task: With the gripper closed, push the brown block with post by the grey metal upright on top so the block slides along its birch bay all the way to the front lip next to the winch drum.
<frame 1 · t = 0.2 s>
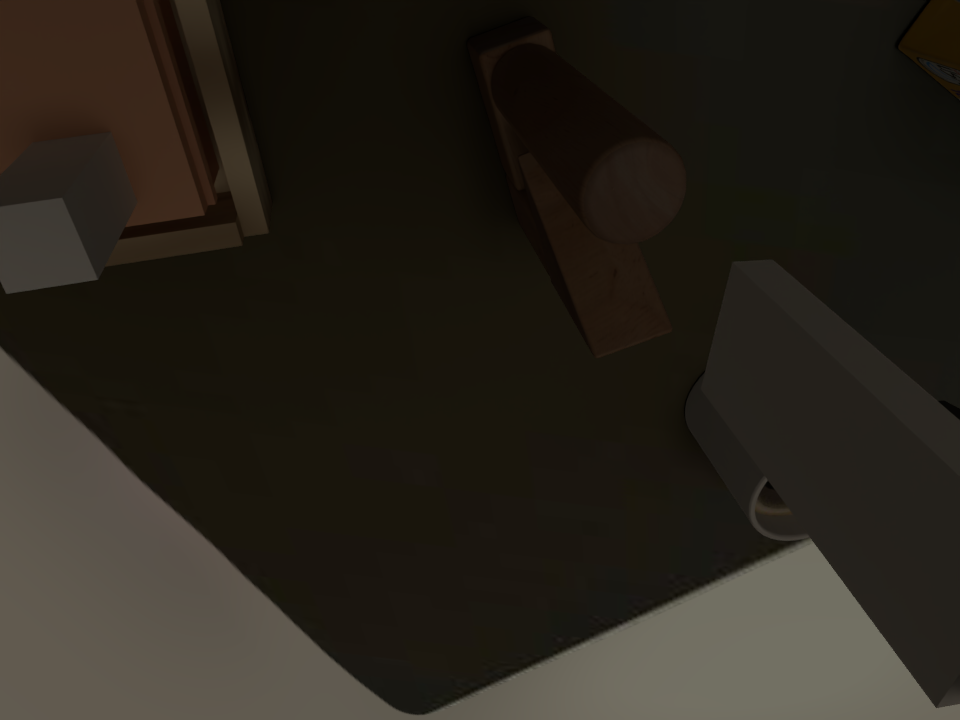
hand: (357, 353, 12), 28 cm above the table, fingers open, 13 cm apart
brown block with post: (63, 128, 28), point 7 cm above the table, slide at 0.0 cm
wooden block: (524, 126, 39), on the table
mug: (733, 406, 54), on the table
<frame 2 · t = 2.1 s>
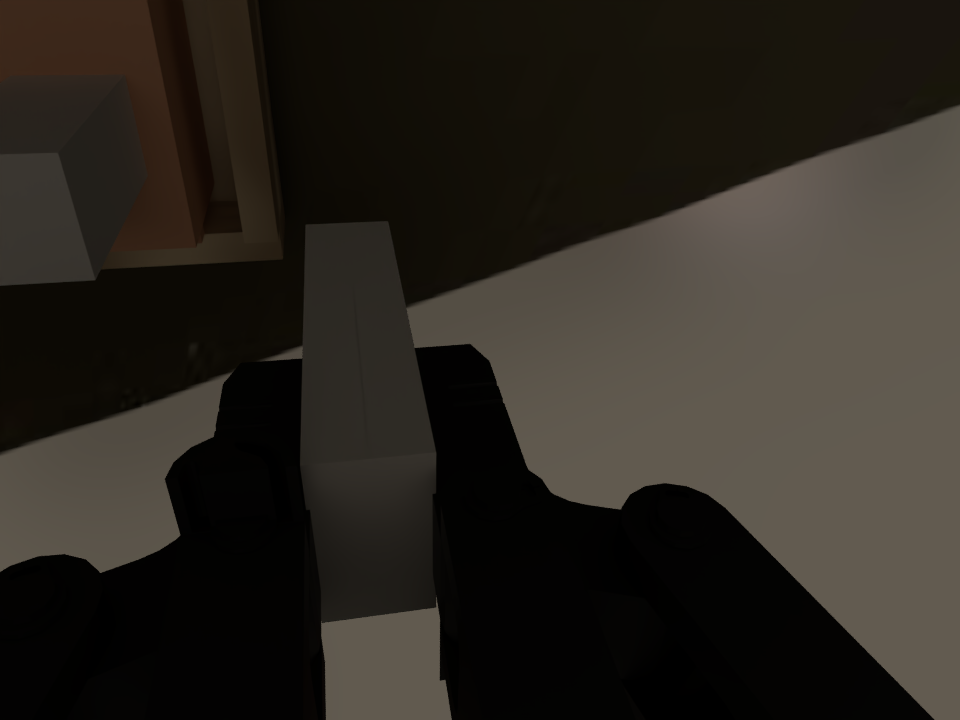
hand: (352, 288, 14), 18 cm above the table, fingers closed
brown block with post: (2, 134, 21), point 7 cm above the table, slide at 0.0 cm
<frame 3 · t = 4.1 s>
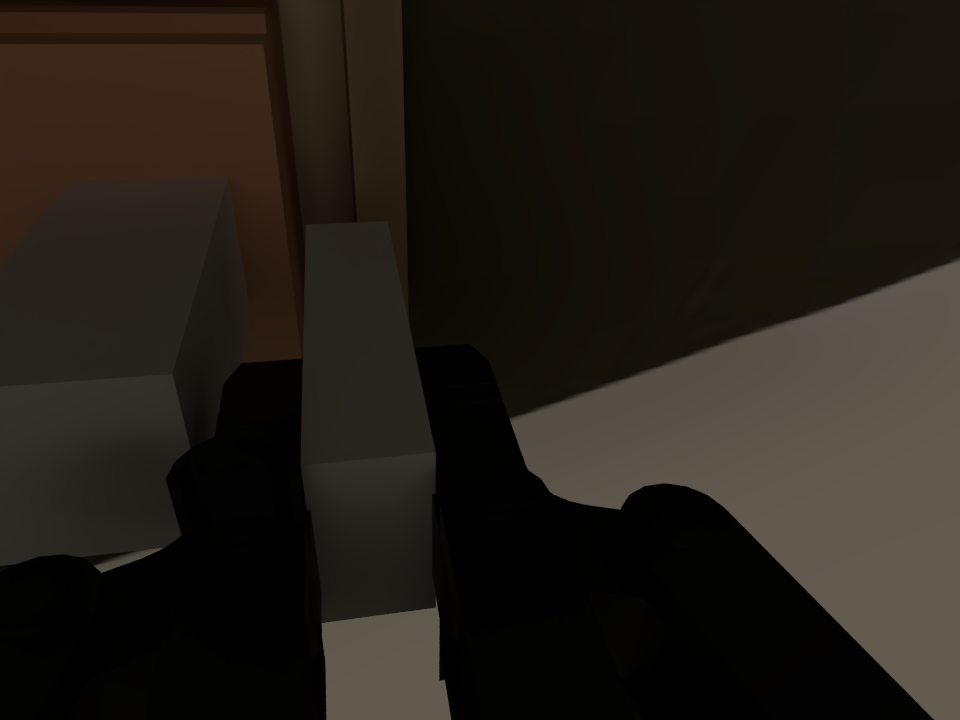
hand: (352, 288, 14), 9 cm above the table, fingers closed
brown block with post: (54, 264, 14), point 7 cm above the table, slide at 0.3 cm, touching gripper
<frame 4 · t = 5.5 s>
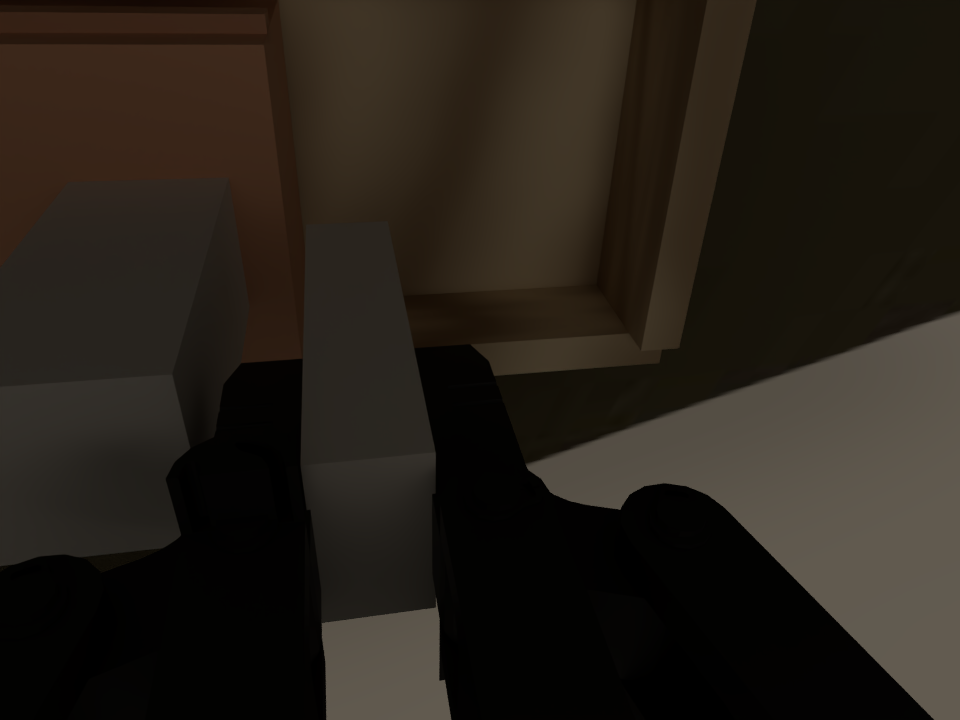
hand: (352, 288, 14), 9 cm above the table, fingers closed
brown block with post: (55, 264, 14), point 7 cm above the table, slide at 8.3 cm, touching gripper
bay: (180, 146, 21), on the table
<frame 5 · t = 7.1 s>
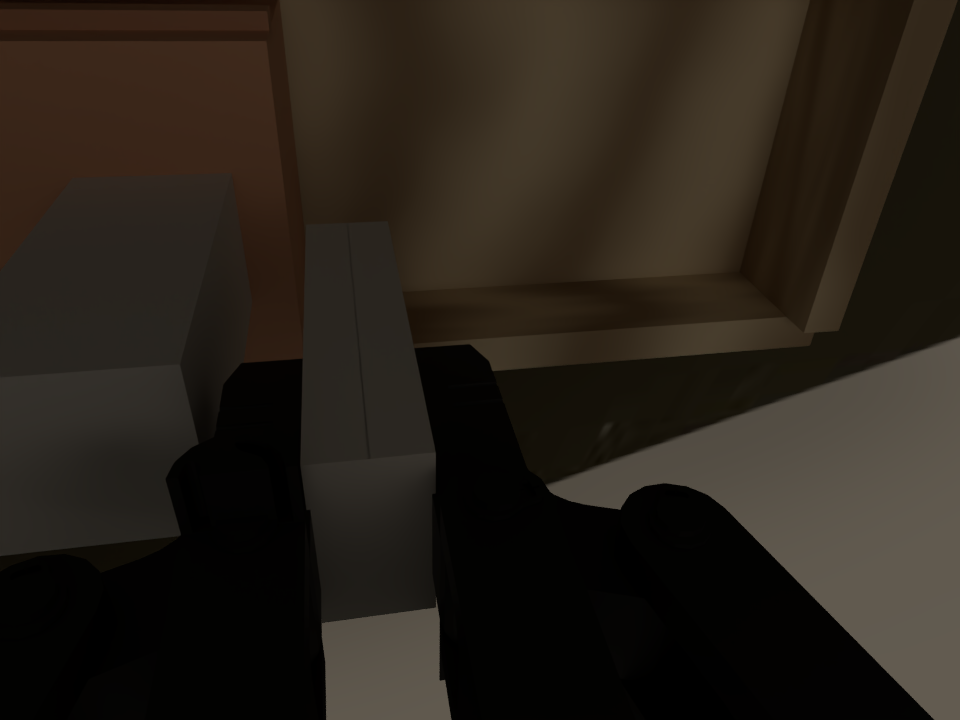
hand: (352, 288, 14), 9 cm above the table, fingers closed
brown block with post: (59, 259, 15), point 7 cm above the table, slide at 13.7 cm, touching gripper
bay: (371, 139, 22), on the table
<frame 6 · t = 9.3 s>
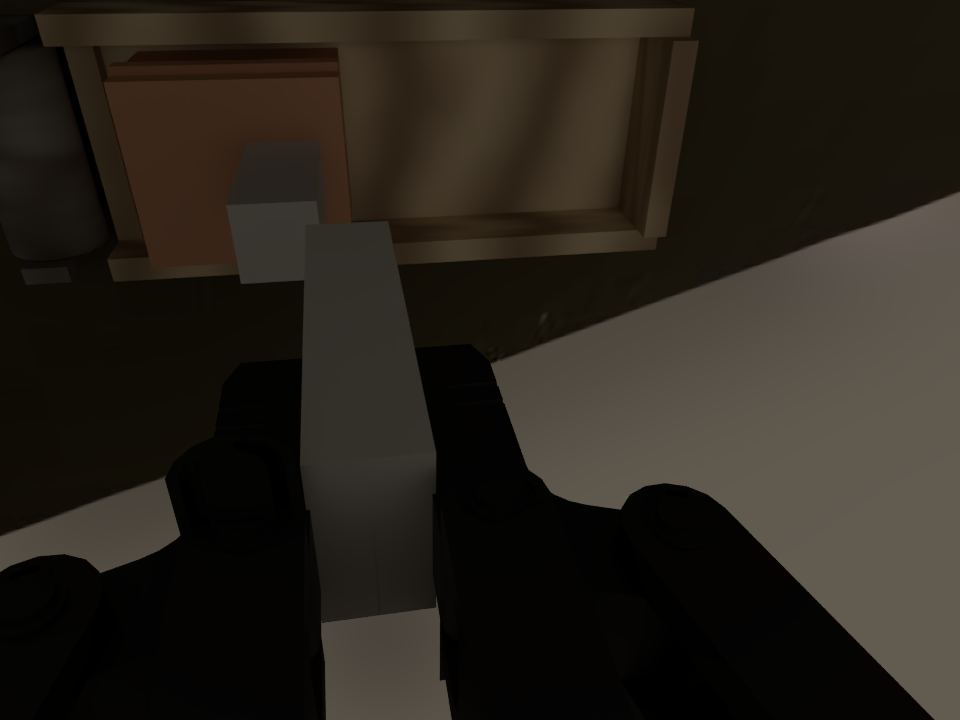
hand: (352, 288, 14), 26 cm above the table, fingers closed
brown block with post: (239, 181, 31), point 7 cm above the table, slide at 13.7 cm
bay: (388, 125, 38), on the table
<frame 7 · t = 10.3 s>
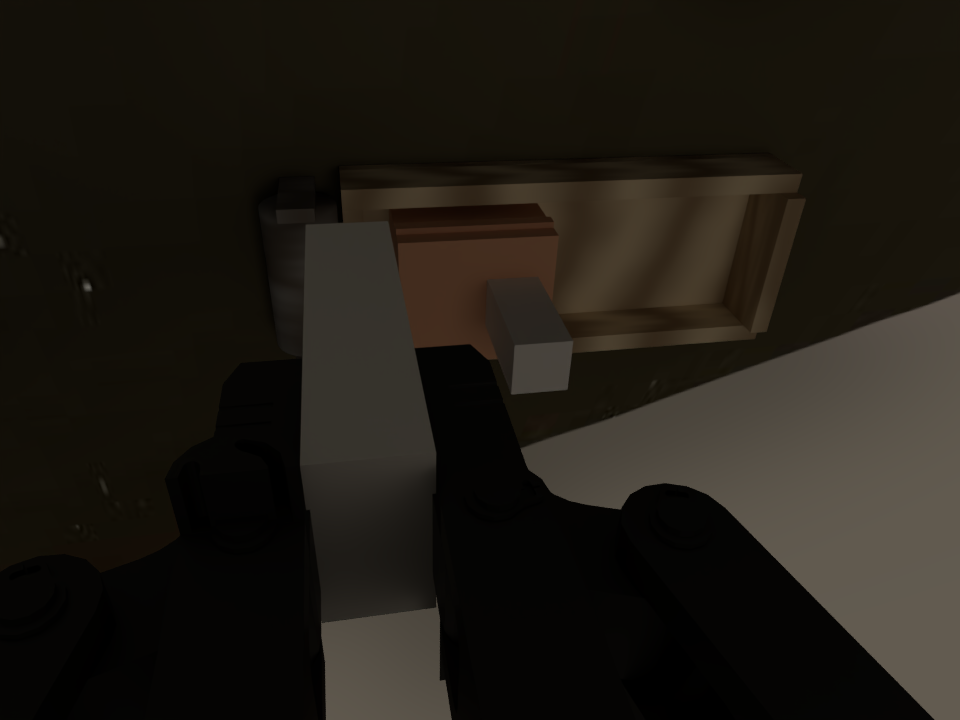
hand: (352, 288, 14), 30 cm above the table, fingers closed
brown block with post: (479, 307, 42), point 7 cm above the table, slide at 13.7 cm
bay: (556, 246, 49), on the table
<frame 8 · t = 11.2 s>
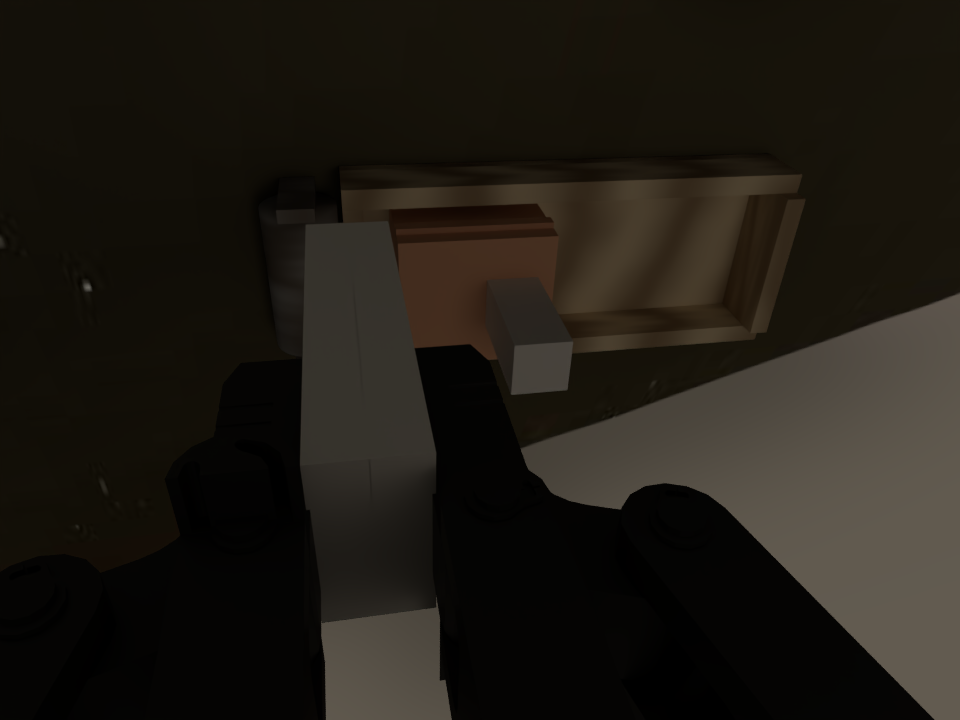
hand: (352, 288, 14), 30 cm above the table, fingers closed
brown block with post: (479, 307, 42), point 7 cm above the table, slide at 13.7 cm
bay: (556, 247, 49), on the table
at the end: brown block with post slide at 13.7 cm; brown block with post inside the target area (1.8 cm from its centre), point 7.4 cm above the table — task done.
